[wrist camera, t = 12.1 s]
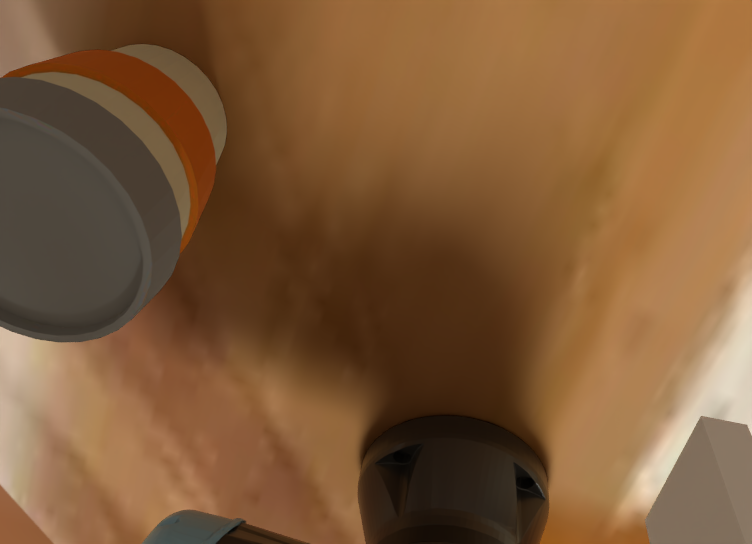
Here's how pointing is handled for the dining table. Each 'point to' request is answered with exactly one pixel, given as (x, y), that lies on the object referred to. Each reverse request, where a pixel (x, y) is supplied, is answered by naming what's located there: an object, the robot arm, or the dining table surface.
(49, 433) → the dining table surface
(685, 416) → the dining table surface
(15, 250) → the reusable coffee cup
